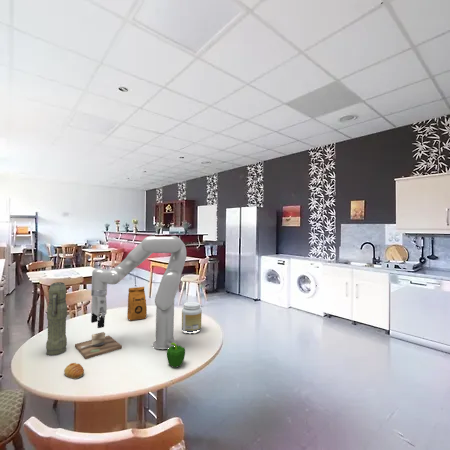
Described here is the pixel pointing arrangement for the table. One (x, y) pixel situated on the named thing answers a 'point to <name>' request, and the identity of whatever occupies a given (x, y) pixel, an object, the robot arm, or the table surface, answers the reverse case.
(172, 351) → the bell pepper
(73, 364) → the pastry
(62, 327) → the thermos
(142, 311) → the coffee package
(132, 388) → the table surface
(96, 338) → the knob
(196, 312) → the supplement tub
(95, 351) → the wooden board
